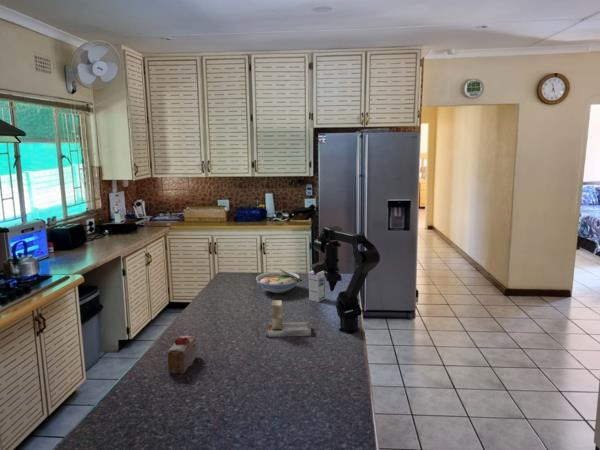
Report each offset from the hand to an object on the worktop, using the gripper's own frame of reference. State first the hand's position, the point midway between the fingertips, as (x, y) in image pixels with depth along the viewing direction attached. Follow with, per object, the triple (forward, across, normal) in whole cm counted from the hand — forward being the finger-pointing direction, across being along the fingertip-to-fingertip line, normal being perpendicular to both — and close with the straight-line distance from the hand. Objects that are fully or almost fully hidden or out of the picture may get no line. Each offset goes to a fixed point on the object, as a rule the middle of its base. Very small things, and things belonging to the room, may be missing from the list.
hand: (331, 291), depth 194 cm
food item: (+13, +36, -56) cm, 68 cm away
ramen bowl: (+13, -41, -24) cm, 49 cm away
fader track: (+13, +12, -19) cm, 26 cm away
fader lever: (+11, +11, -24) cm, 29 cm away
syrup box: (+13, -26, -4) cm, 29 cm away
